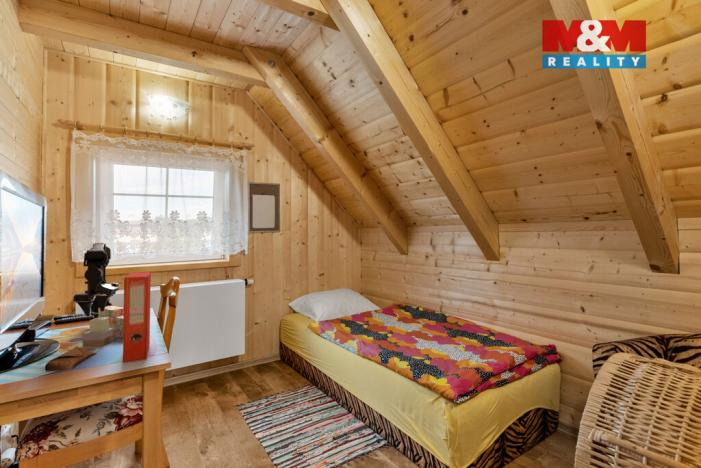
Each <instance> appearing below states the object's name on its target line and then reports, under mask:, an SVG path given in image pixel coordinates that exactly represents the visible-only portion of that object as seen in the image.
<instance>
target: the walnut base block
mask: <svg viewBox="0 0 701 468" xmlns="http://www.w3.org/2000/svg"><path fill="white" fill-rule="evenodd" d="M114 340H115V336H114V335H112V336H110V337H107V338H105V339H103V340H83V339H82V347H103V346H106V345H107V344H109V343H111V342H114Z"/></svg>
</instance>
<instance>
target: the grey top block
mask: <svg viewBox="0 0 701 468" xmlns="http://www.w3.org/2000/svg"><path fill="white" fill-rule="evenodd" d="M112 335H114V328H109V329H107V330H105V331H102V332H90V329H89V330H87V331H84V332H83V333H82V341H83V340H103V339H105V338H107V337H110V336H112Z"/></svg>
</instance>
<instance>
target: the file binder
mask: <svg viewBox="0 0 701 468" xmlns="http://www.w3.org/2000/svg"><path fill="white" fill-rule="evenodd" d="M151 275H152V272H150V271H147V272H145V271H144V272H143V271H141V272H140V271H139V272H129V273H128V274H127V275H125V276H124V278H123V308H124V319H123V338H122V362H123V363H129V362H130V363H131V362H136V361H137V362H138V361H145V360H147V358H148V354H149V349H150V341H151V340H150V339H151V338H150V335H151V327H150V326H151V284H152V283H151V279H152V278H151V277H152V276H151Z"/></svg>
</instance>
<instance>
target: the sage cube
mask: <svg viewBox="0 0 701 468" xmlns="http://www.w3.org/2000/svg"><path fill="white" fill-rule="evenodd" d="M107 329H109V318H95V319H94V318H93V319H90V320H89V330H90V332H102V331H105V330H107Z"/></svg>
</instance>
